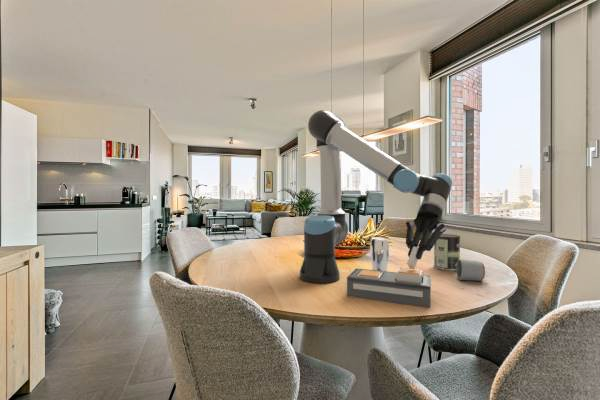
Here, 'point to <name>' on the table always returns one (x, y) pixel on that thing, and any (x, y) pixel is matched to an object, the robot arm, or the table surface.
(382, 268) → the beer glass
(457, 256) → the coffee can
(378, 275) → the left switch
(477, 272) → the grey cylinder
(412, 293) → the switch console
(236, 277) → the table surface
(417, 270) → the right switch
